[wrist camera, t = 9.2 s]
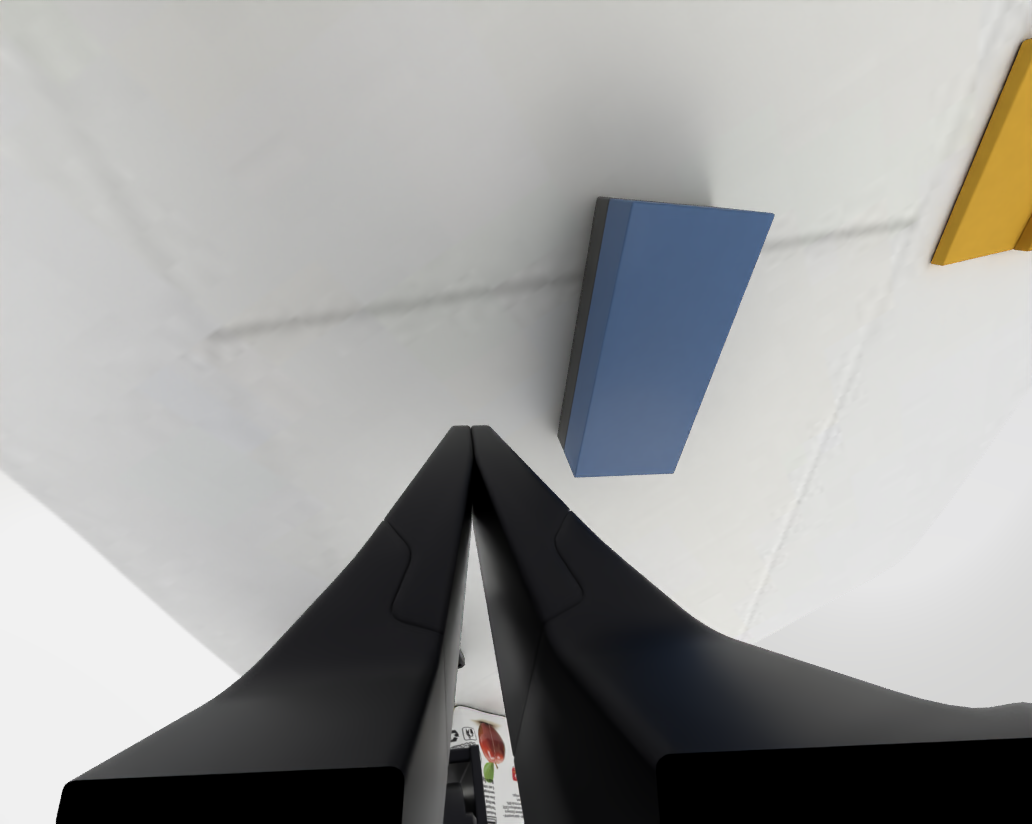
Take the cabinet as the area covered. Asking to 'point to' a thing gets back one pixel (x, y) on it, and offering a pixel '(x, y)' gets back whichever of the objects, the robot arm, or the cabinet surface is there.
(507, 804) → the juice carton
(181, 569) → the cabinet surface
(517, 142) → the cabinet surface
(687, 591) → the cabinet surface
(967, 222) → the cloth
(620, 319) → the whiteboard eraser
